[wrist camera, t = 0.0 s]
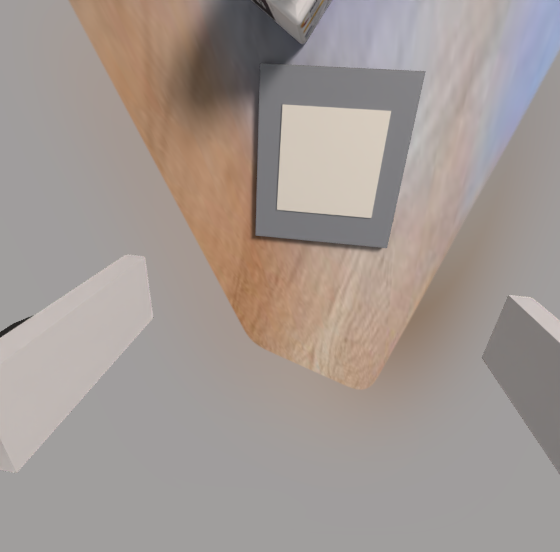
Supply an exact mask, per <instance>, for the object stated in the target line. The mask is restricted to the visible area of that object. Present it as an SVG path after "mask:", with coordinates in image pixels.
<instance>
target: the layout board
mask: <svg viewBox="0 0 560 552" xmlns="http://www.w3.org/2000/svg"><path fill="white" fill-rule="evenodd" d="M424 76H425V71H407V70H387V69H366V68H346V67H326V66H305V65H285V64H265V63H260V85H259V124H258V162H257V201H256V235H257V236H267V237H277V238H288V239H298V240H308V241H319V242H329V243H339V244H350V245H360V246H371V247H381V248H387V245H388V241H389V236H390V232H391V227H392V222H393V218H394V213H395V209H396V204H397V200H398V195H399V190H400V186H401V181H402V177H403V172H404V167H405V163H406V158H407V154H408V149H409V144H410V140H411V135H412V131H413V126H414V121H415V117H416V112H417V108H418V103H419V99H420V94H421V89H422V85H423V80H424Z"/></svg>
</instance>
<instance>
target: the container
mask: <svg viewBox="0 0 560 552" xmlns="http://www.w3.org/2000/svg"><path fill="white" fill-rule="evenodd" d="M251 1H252V2H254V3H255V4H256V5H257V6H258V7H259V8H260V9H262V10H263V11H264V12H265V13H266V14H267V15H268V16H269V17H271V18H272V19H273V20H274V21H275V22H276V23H277V24H279V25H280V26H281V27H282V28H283V29H284V30H285V31H287V32H288V33H289V34H290V35H291V36H292V37H293V38H295V39H296V40H297V41H298V42H299V43H300V44H305V43H306V41H307V40H308V38H309V37H310V35H311V33H312V32H313V30H314V29H315V27H316V25H317V24H318V22H319V20H320V19H321V17H322V16H323V14H324V12H325V11H326V9H327V8H328V6H329V4H330V3H331V1H332V0H251Z"/></svg>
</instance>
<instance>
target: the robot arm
mask: <svg viewBox="0 0 560 552" xmlns="http://www.w3.org/2000/svg"><path fill="white" fill-rule="evenodd" d="M152 319H153V312H152V305H151V297H150V289H149V282H148V275H147V267H146V260H145V257H144V256H135V255H125V256H123V257H122V258H120V259H118V260H117V261H115V262H114V263H112V264H111V265H109V266H108V267H106V268H105V269H104V270H102V271H100V272H99V273H97V274H96V275H94V276H93V277H91V278H90V279H88V280H87V281H85V282H84V283H82V284H81V285H79V286H78V287H76V288H75V289H73V290H72V291H70V292H69V293H67V294H66V295H64V296H63V297H61V298H60V299H58V300H57V301H55V302H54V303H52V304H51V305H49V306H48V307H46V308H44V309H43V310H42V311H40V312H39V313H37V314H35V315H33V316H31V317H28V318H26V319H23V320H21V321H19V322H16V323H14V324H12V325H10V326H9V327H7V328H6V329H4V330H3V331H1V332H0V470H2V471H8V472H14V473H17V472H18V471H19V470H20V469H21V468H22V466H23V465H24V464H25V463H26V462H27V461H28V460H29V458H30V457H31V456H32V455H33V454H34V453H35V452H36V450H37V449H38V448H39V447H40V446H41V445H42V444H43V443H44V441H45V440H46V439H47V438H48V437H49V436H50V434H51V433H52V432H53V431H54V430H55V429H56V428H57V427H58V425H59V424H60V423H61V422H62V421H63V420H64V419H65V417H66V416H67V415H68V414H69V413H70V412H71V411H72V410H73V408H74V407H75V406H76V405H77V404H78V403H79V402H80V400H81V399H82V398H83V397H84V396H85V395H86V394H87V392H88V391H89V390H90V389H91V388H92V387H93V386H94V384H95V383H96V382H97V381H98V380H99V378H101V377H102V375H103V374H104V373H105V372H106V371H107V370H108V369H109V367H110V366H111V365H112V364H113V363H114V362H115V361H116V359H117V358H118V357H119V356H120V355H121V354H122V352H124V350H125V349H126V348H127V347H128V346H129V345H130V344H131V342H132V341H133V340H134V339H135V338H136V337H137V336H138V334H139V333H140V332H141V331H142V330H143V329H144V328H145V327H146V325H147V324H148V323H149V322H150V321H151V320H152ZM482 359H483V360H484V362H485V363H486V365H487V366H488V368H489V369H490V371H491V372H492V374H493V375H494V377H495V378H496V380H497V381H498V383H499V384H500V386H501V387H502V389H503V390H504V392H505V393H506V395H507V396H508V398H509V399H510V401H511V402H512V404H513V405H514V407H515V408H516V410H517V411H518V413H519V414H520V416H521V417H522V419H523V420H524V422H525V423H526V425H527V426H528V428H529V429H530V430H531V432H532V434H533V435H534V436H535V438H536V440H537V441H538V443H539V444H540V445H541V447H542V448H543V450H544V451H545V453H546V454H547V456H548V457H549V459H550V460H551V462H552V463H553V465H554V466H555V468H556V469H557V471H558V472H559V474H560V321H559V320H558V319H557V318H556V317H555V316H553V315H552V314H551V313H550V312H549V311H547V310H546V309H545V308H544V307H543V306H541V305H540V304H539V303H538V302H537V301H535V300H534V299H533V298H532V297H522V296H514V295H508V297H507V300H506V302H505V304H504V307H503V309H502V311H501V314H500V316H499V319H498V321H497V323H496V325H495V328H494V330H493V333H492V335H491V337H490V340H489V342H488V344H487V347H486V349H485V351H484V354H483V356H482Z"/></svg>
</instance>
